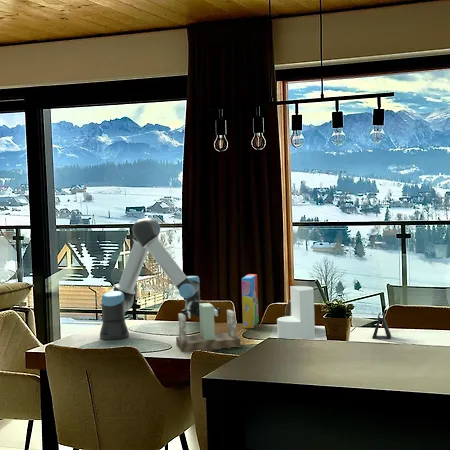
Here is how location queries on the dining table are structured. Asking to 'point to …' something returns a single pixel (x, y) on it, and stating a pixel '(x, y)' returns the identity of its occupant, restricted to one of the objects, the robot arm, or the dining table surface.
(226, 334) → the marble base with posts
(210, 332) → the book
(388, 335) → the phone stand
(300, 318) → the white l-shaped block
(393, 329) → the dining table surface
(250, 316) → the game box
